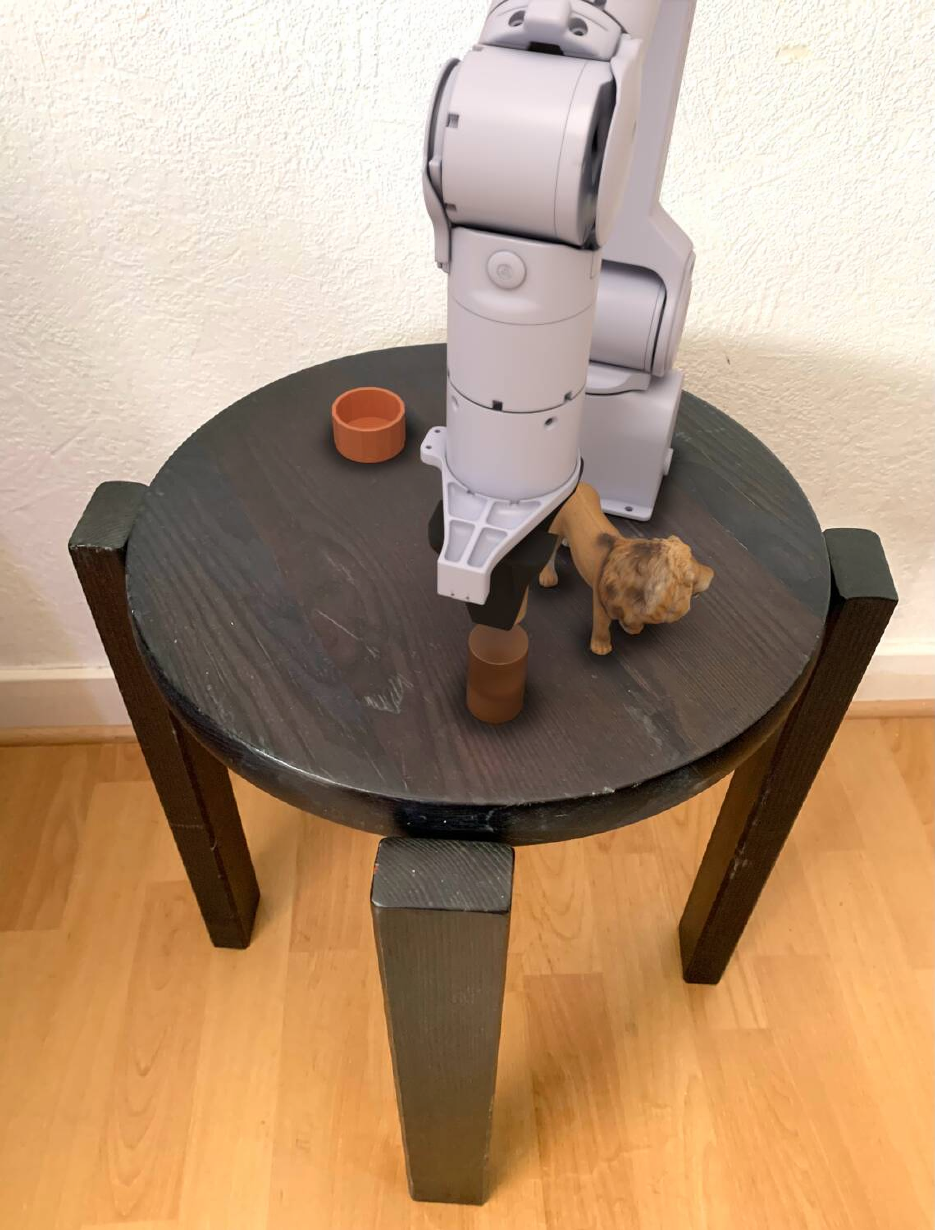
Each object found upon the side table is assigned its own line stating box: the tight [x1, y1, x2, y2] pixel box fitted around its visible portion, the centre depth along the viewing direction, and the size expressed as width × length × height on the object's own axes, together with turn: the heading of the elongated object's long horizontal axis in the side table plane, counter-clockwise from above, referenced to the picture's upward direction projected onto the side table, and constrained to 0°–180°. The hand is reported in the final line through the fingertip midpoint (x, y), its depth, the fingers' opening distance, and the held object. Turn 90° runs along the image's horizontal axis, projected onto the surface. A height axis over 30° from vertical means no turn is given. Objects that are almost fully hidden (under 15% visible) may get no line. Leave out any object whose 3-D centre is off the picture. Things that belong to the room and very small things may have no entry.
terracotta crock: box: [331, 386, 407, 464], centre depth 73 cm, size 5×5×3 cm
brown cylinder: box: [465, 623, 530, 725], centre depth 57 cm, size 3×3×5 cm
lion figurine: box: [538, 482, 715, 656], centre depth 61 cm, size 15×5×9 cm, turn 33°
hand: (501, 598), depth 53 cm, fingers closed on pepper mill, 2 cm apart
